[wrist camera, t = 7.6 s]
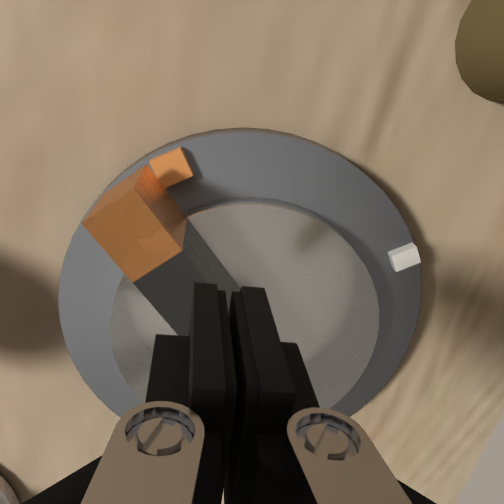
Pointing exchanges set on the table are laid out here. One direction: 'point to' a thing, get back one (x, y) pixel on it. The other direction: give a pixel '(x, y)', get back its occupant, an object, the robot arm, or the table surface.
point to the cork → (482, 48)
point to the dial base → (263, 186)
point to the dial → (234, 277)
